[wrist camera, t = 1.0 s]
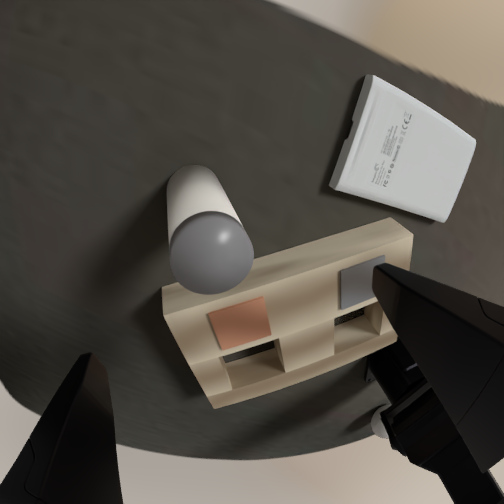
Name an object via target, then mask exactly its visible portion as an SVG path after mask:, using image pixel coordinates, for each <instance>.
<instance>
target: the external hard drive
mask: <svg viewBox="0 0 504 504" xmlns="http://www.w3.org/2000/svg"><path fill="white" fill-rule="evenodd" d="M475 146H476V140H475V139H474V138H472V137H471V136H470V135H468V134H467V133H466V132H464V131H463V130H462V129H460V128H459V127H457V126H456V125H455V124H453V123H452V122H450V121H449V120H448V119H446V118H445V117H443V116H442V115H440V114H439V113H437V112H436V111H434V110H433V109H431V108H429V107H428V106H426V105H425V104H423V103H422V102H420V101H418V100H417V99H415V98H413V97H412V96H410V95H408V94H407V93H405V92H403V91H402V90H400V89H398V88H396V87H395V86H393V85H391V84H389V83H387V82H385V81H383V80H382V79H380V78H378V77H376V76H374V75H366V76H365V80H364V83H363V86H362V89H361V92H360V95H359V99H358V102H357V105H356V108H355V111H354V114H353V117H352V125H351V128H350V132H349V135H348V138H347V139H345V141H344V144H343V146H342V149H341V152H340V155H339V158H338V161H337V164H336V166H335V169H334V172H333V175H332V178H331V180H330V183H329V186H330V187H332V188H333V189H334V190H338V191H342V192H345V193H349V194H352V195H356V196H359V197H363V198H366V199H369V200H373V201H376V202H379V203H383V204H386V205H389V206H393V207H396V208H399V209H402V210H405V211H409V212H412V213H415V214H418V215H421V216H424V217H427V218H430V219H433V220H436V221H439V222H442V223H444V222H445V221H446V220H447V218H448V216H449V214H450V212H451V209H452V207H453V205H454V202H455V200H456V197H457V195H458V193H459V190H460V188H461V185H462V183H463V180H464V177H465V175H466V172H467V170H468V167H469V164H470V161H471V159H472V156H473V153H474V150H475Z"/></svg>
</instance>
